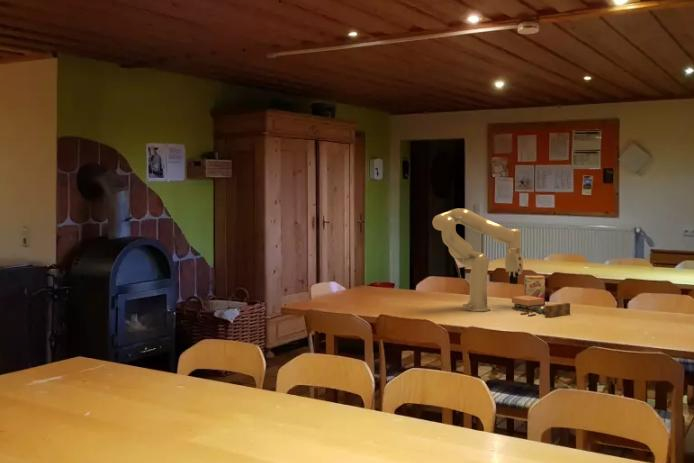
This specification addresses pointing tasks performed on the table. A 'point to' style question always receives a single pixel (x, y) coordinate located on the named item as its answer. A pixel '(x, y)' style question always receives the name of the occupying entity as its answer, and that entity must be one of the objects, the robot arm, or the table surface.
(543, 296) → the candy bar box
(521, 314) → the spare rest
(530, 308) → the roller track
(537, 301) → the slab
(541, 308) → the roller
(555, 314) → the rail
